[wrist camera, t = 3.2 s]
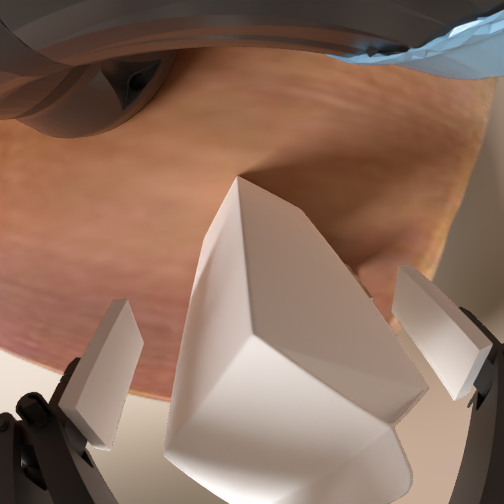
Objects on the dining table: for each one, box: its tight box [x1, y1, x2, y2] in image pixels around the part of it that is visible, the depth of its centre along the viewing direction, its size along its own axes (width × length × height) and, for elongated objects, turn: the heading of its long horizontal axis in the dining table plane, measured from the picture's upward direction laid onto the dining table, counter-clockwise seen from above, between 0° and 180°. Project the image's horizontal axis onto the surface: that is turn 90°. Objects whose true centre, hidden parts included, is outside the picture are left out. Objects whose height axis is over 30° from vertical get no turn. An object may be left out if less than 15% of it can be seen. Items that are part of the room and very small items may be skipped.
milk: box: [163, 176, 429, 504], centre depth 14 cm, size 6×6×22 cm
